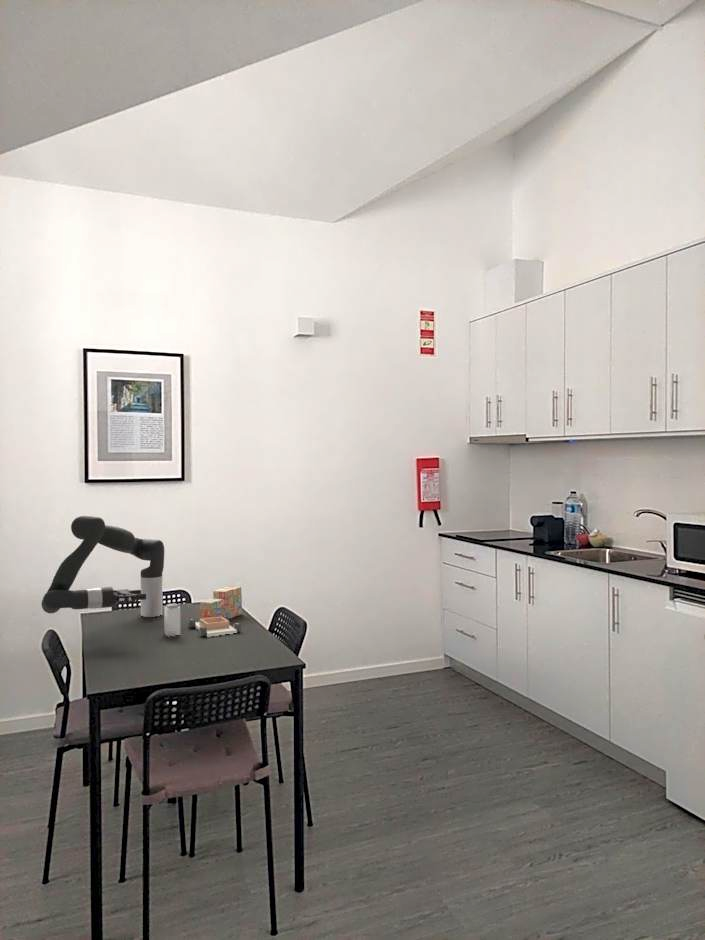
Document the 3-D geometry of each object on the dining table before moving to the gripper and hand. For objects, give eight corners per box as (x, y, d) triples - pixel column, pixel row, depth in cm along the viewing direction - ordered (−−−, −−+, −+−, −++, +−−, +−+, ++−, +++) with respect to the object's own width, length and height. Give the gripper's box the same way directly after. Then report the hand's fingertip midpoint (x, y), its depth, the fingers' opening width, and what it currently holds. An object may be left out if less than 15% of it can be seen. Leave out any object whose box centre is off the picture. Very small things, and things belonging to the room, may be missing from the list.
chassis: (187, 626, 305) (187, 617, 305) (225, 622, 313) (225, 613, 313) (202, 637, 288) (202, 627, 288) (241, 633, 296) (241, 623, 295)
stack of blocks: (212, 625, 309) (211, 595, 309) (200, 623, 312) (199, 594, 312) (242, 614, 329) (241, 586, 328) (230, 613, 331) (229, 585, 331)
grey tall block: (164, 634, 293) (164, 604, 293) (177, 632, 296) (176, 602, 295) (167, 637, 289) (167, 606, 289) (180, 635, 291) (180, 605, 291)
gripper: (103, 591, 272) (147, 587, 280) (96, 585, 285) (139, 581, 293) (103, 611, 272) (147, 607, 280) (96, 604, 285) (139, 601, 293)
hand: (143, 594), depth 286 cm, fingers open, 8 cm apart
